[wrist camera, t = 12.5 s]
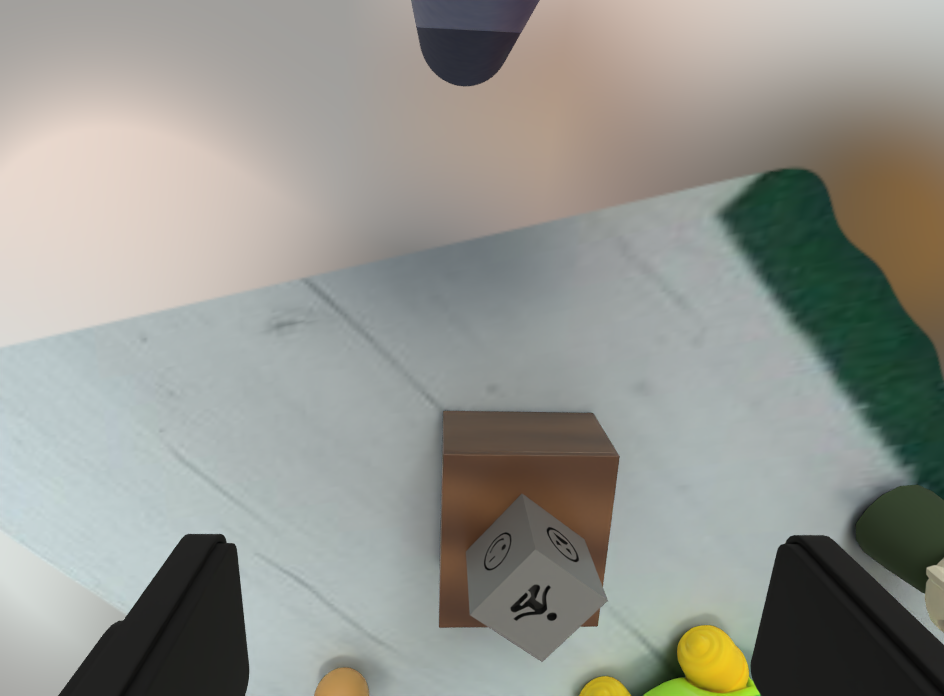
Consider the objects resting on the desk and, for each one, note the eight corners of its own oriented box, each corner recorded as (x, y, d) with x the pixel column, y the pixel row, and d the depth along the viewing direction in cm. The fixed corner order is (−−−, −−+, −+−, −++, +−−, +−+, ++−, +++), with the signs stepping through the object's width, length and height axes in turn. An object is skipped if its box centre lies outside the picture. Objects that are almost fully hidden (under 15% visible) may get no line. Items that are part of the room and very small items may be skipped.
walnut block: (443, 410, 37) (443, 454, 31) (592, 412, 38) (619, 456, 32) (439, 563, 41) (438, 627, 35) (576, 563, 41) (598, 626, 36)
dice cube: (522, 493, 32) (535, 549, 28) (584, 539, 33) (607, 600, 29) (465, 551, 33) (469, 614, 29) (528, 594, 34) (542, 662, 30)
